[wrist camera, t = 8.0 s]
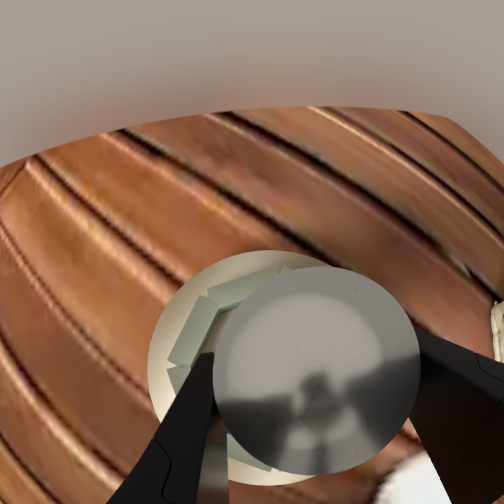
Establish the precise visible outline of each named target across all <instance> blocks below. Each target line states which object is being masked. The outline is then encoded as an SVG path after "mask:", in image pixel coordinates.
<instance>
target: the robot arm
mask: <svg viewBox="0 0 504 504" xmlns="http://www.w3.org/2000/svg"><path fill="white" fill-rule="evenodd" d="M413 328H414V331H415V334H416V337H417V340H418V345H419V350H420V360H421V373H420V383H419V388H418V393H417V396H416V399H415V403H414V405H413V408H412V410H411V412H410V414H409V416H408V417H409V419H410V421H411V423H412V425H413V426H414V428H415V430H416V432H417V434H418V436H419V438H420V440H421V442H422V444H423V446H424V447H425V449H426V451H427V453H428V455H429V457H430V459H431V461H432V463H433V465H434V467H435V469H436V471H437V473H438V475H439V477H440V480H441V482H442V484H443V486H444V488H445V490H446V492H447V495H448V497H449V499H450V501H451V503H452V504H492V503H493V502H495V501H496V500H498V502H499V504H504V363H502V362H499V361H496V360H493V359H491V358H488V357H486V356H483V355H481V354H478V353H474V352H473V351H471V350H469V349H466V348H464V347H461V346H459V345H457V344H454V343H452V342H449V341H447V340H445V339H442V338H440V337H438V336H435V335H433V334H430V333H428V332H426V331H423V330H421V329H418V328H416V327H414V326H413ZM214 357H215V353H214V352H205V353H201V354H200V355H199V356H198V358H197V360H196V362H195V363H194V365H193V367H192V369H191V370H190V372H189V374H188V376H187V378H186V379H185V381H184V383H183V385H182V386H181V388H180V390H179V392H178V393H177V395H176V397H175V399H174V401H173V402H172V404H171V406H170V408H169V409H168V411H167V413H166V415H165V416H164V418H163V420H162V422H161V424H160V425H159V427H158V429H157V431H156V432H155V434H154V438H152V439H151V441H150V443H149V444H148V446H147V448H146V450H145V451H144V453H143V454H142V456H141V458H140V459H139V461H138V462H137V464H136V465H135V467H134V468H133V469H132V471H131V472H130V473H129V475H128V476H127V477H126V479H125V480H124V481H123V483H122V484H121V485H120V486H119V488H118V489H117V490H116V491H115V493H114V494H113V495H112V497H111V498H110V499H109V500H108V502H107V503H106V504H229V489H228V458H227V428H226V426H225V424H224V422H223V420H222V417H221V415H220V413H219V410H218V407H217V403H216V400H215V395H214V388H213V365H214Z"/></svg>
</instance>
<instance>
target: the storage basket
mask: <svg viewBox="0 0 504 504" xmlns="http://www.w3.org/2000/svg"><path fill="white" fill-rule="evenodd" d="M491 327H492V333H493V349H494V355H495V359H494V360H496V361H499V362H502V363H504V301H503V302H501V303H499V304H497V301H495V306H493V308H492V310H491Z"/></svg>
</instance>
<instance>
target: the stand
mask: <svg viewBox="0 0 504 504" xmlns="http://www.w3.org/2000/svg"><path fill="white" fill-rule="evenodd" d="M326 266H327V267H332V266H330V265H328V264H326V263H324V262H322V261H320V260H317V259H315V258H312V257H309V256H306V255H303V254H298V253H294V252H288V251H278V250H262V251H254V252H246V253H242V254H238V255H235V256H231V257H228V258H226V259H223V260H221V261H218V262H216V263H214V264H212V265H211V266H209V267H207V268H205V269H203V270H202V271H200V272H199V273H198V274H196V275H195V276H194V277H192V278H191V279H190V280H189V281H187V282H186V283H185V284H184V285H183V286H182V287H181V288H180V289H179V290H178V291H177V293H176V294H175V295H174V296H173V298H172V299H171V300H170V301H169V303H168V304H167V306H166V307H165V309H164V311H163V312H162V314H161V316H160V318H159V320H158V322H157V325H156V327H155V329H154V332H153V336H152V339H151V343H150V347H149V354H148V362H147V372H148V385H149V391H150V396H151V399H152V403H153V406H154V409H155V411H156V414H157V416H158V418H159V420H160V422H162V420H163V418H164V416H165V415H166V413H167V411H168V409H169V408H170V406H171V404H172V402H173V401H174V399H175V397H176V395H177V393H178V392H179V390H180V388H181V386H182V385H183V383H184V381H185V379H186V378H187V376H188V374H189V372H190V370H191V369H192V367H193V365H194V363H195V362H196V360H197V358H198V356H199V355H200V354H201V353H205V352H214V353H216V349H217V345H218V342H219V339H220V337H221V334H222V332H223V330H224V327H225V326H226V324H227V322H228V321H229V319H230V317H231V315H232V314H233V313H234V311H235V310H236V309H237V308H238V306H239V305H240V304H241V303H242V302H243V301H244V300H245V299H246V298H247V297H248V296H249V295H250V294H251V293H252V292H253V291H255V290H256V289H257V288H258V287H260V286H261V285H262V284H264V283H266V282H268V281H269V280H271V279H273V278H275V277H277V276H279V275H282V274H284V273H286V272H290V271H293V270H297V269H301V268H308V267H326ZM227 458H228V479H230V480H233V481H236V482H241V483H246V484H252V485H281V484H289V483H294V482H298V481H302V480H305V479H308V478H311V477H314V476H306V475H297V474H291V473H287V472H283V471H280V470H277V469H275V468H272V467H270V466H267V465H266V464H264V463H262V462H260V461H259V460H257V459H255V458H254V457H253V456H251V455H250V454H249V453H248V452H247V451H245V450H244V449H243V448H242V447H241V446H240V445H239V444H238V442H237V441H236V440H235V439H234V438H233V436H232V435H231V433H230V432H229V431H228V429H227ZM315 476H316V475H315Z"/></svg>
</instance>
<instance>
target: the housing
mask: <svg viewBox="0 0 504 504" xmlns="http://www.w3.org/2000/svg"><path fill="white" fill-rule="evenodd" d="M420 373H421V360H420V350H419V345H418V340H417V337H416V334H415V331H414V328H413V326H412V324H411V322H410V320H409V318H408V316H407V314H406V313H405V311H404V310H403V308H402V307H401V305H400V304H399V303H398V302H397V301H396V299H395V298H394V297H393V296H392V295H391V294H390V293H389V292H388V291H387V290H385V289H384V288H383V287H382V286H380V285H379V284H377V283H376V282H375V281H373V280H371V279H369V278H367V277H365V276H363V275H361V274H358V273H356V272H353V271H350V270H346V269H342V268H336V267H327V266H326V267H308V268H301V269H297V270H293V271H290V272H286V273H284V274H282V275H279V276H277V277H275V278H273V279H271V280H269V281H268V282H266V283H264V284H262V285H261V286H260V287H258V288H257V289H256V290H255V291H253V292H252V293H251V294H250V295H249V296H248V297H247V298H246V299H245V300H244V301H243V302H242V303H241V304H240V305H239V306H238V308H237V309H236V310H235V311H234V313H233V314H232V315H231V317H230V319H229V321H228V322H227V324H226V326H225V327H224V330H223V332H222V334H221V337H220V339H219V342H218V345H217V349H216V353H215V357H214V365H213V388H214V395H215V400H216V403H217V407H218V410H219V413H220V415H221V417H222V420H223V422H224V424H225V426H226V428H227V429H228V431H229V432H230V433H231V435H232V436H233V438H234V439H235V440H236V441H237V442H238V444H239V445H240V446H241V447H242V448H243V449H244V450H245V451H247V452H248V453H249V454H250V455H251V456H253V457H254V458H255V459H257V460H259V461H260V462H262V463H264V464H266V465H267V466H270V467H272V468H275V469H277V470H280V471H283V472H287V473H291V474H297V475H306V476H315V475H327V474H333V473H337V472H341V471H344V470H347V469H350V468H352V467H355V466H357V465H359V464H361V463H363V462H365V461H366V460H368V459H370V458H371V457H373V456H374V455H376V454H377V453H378V452H379V451H381V450H382V449H383V448H384V447H385V446H386V445H387V444H388V443H389V442H390V441H391V440H392V439H393V438H394V437H395V436H396V434H397V433H398V432H399V431H400V429H401V428H402V426H403V425H404V423H405V421H406V420H407V418H408V416H409V414H410V412H411V410H412V408H413V405H414V403H415V399H416V396H417V393H418V388H419V383H420Z"/></svg>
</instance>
